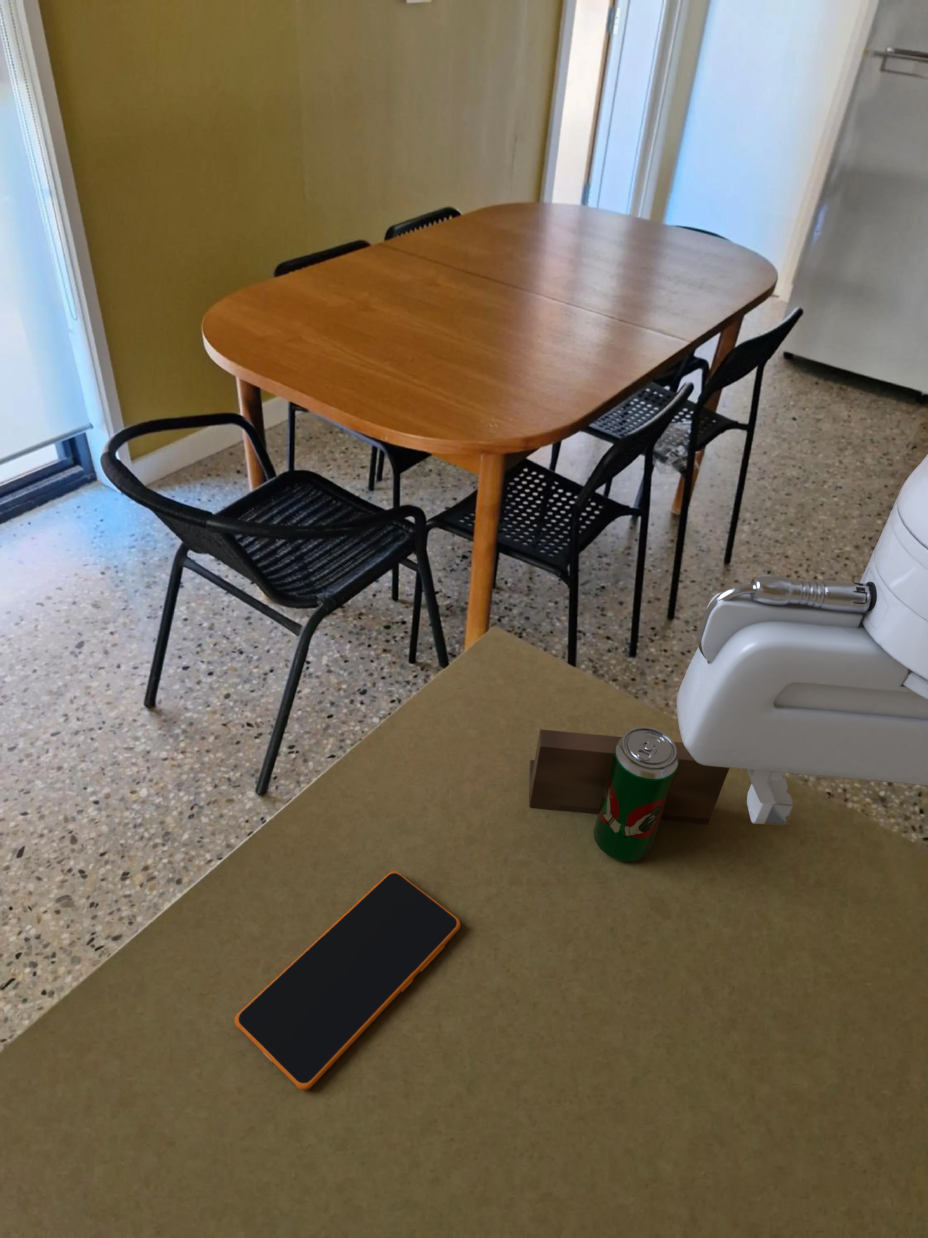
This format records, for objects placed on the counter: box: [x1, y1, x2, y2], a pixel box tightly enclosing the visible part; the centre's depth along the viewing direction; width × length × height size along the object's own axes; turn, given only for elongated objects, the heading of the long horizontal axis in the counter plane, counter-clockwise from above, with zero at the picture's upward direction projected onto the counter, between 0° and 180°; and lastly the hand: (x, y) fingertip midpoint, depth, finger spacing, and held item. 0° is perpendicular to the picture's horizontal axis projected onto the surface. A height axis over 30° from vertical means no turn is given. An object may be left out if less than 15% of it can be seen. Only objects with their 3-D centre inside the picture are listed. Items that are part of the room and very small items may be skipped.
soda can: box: [593, 726, 679, 862], centre depth 73 cm, size 5×5×12 cm
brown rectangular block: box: [528, 729, 730, 825], centre depth 78 cm, size 16×5×8 cm, turn 86°
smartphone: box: [234, 870, 462, 1091], centre depth 65 cm, size 8×17×1 cm, turn 140°
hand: (861, 823), depth 43 cm, fingers open, 8 cm apart
